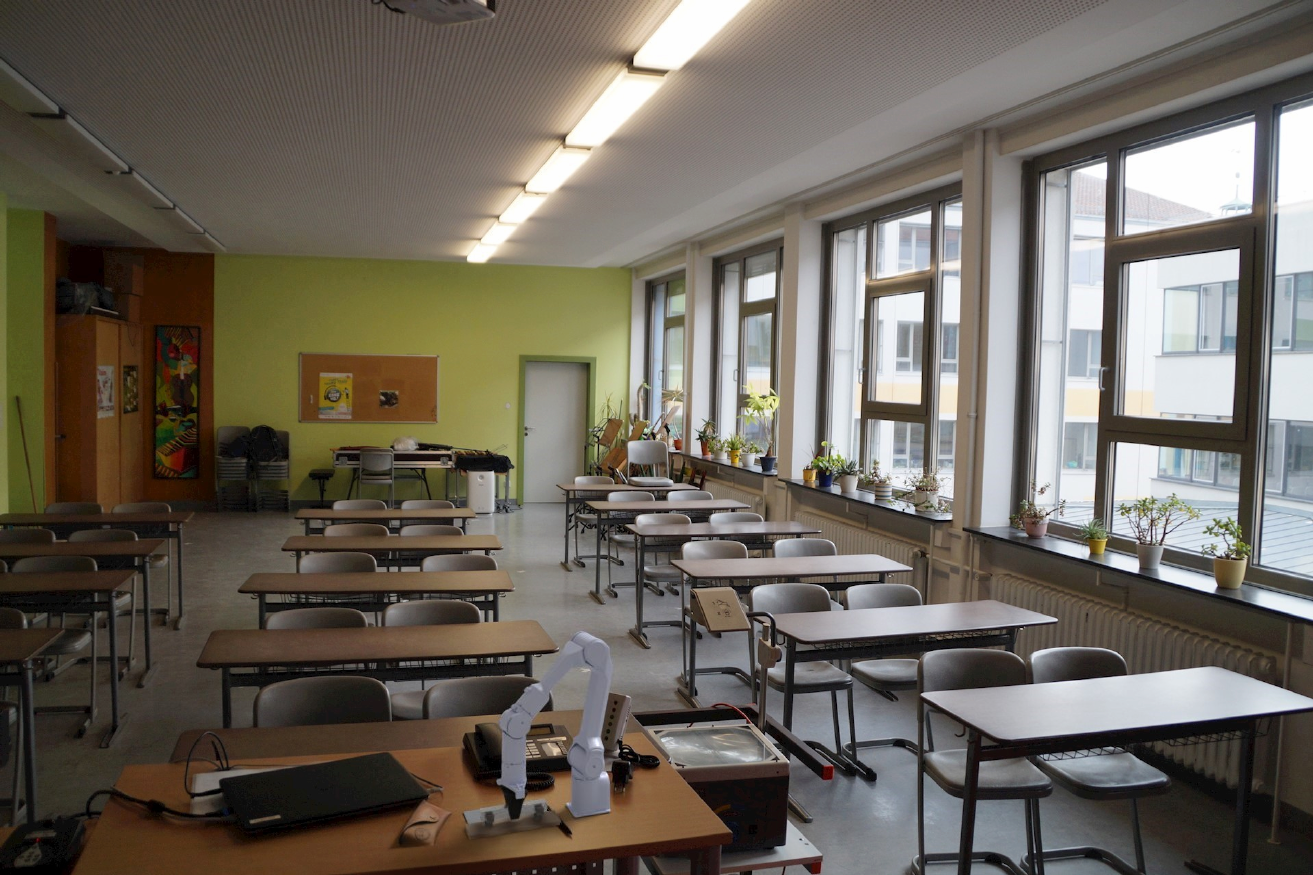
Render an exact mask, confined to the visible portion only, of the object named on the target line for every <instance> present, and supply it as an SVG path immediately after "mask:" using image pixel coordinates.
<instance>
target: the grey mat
mask: <svg viewBox="0 0 1313 875" xmlns="http://www.w3.org/2000/svg"><path fill="white" fill-rule="evenodd" d="M544 812H547V811H544ZM463 814H464V818H465V820H466V824H470V823H477V822H483V821H481V820H480V818H479V809H478V808H477V809H473V810H466V811H463ZM532 814H534V813H532ZM525 815H528V814H525ZM520 816H521V815H520ZM506 818H509V817H506ZM500 819H502V818H500ZM494 820H496V819H494Z"/></svg>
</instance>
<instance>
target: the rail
mask: <svg viewBox="0 0 1313 875" xmlns="http://www.w3.org/2000/svg"><path fill="white" fill-rule="evenodd" d="M537 799H538V800H536V799H532V800H526V801H525V800H524V802H523V805H522V809H521V814H520V815H525V814H532V813H536V807H541V806H543V807H544V811H547V809H548V801H547V799H546V798H537ZM484 807H485V808H483V807H480V808H479V818H480V820H481V821H487V815H489V814H494V819H500V818H506V817H510V816H509V809H508V804H506V803H505V804H499V805H492V806H484Z"/></svg>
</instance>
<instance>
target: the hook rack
mask: <svg viewBox="0 0 1313 875" xmlns="http://www.w3.org/2000/svg"><path fill="white" fill-rule="evenodd" d="M538 799H539V798H536V799H535V800H538ZM485 807H486V806H484V807H482V808H485ZM560 823H561V824H562V820H561V818H560V816H559V814H557V812H556V810H555V809H554V810H549V811H547V812H544V807H543V806H541V807H536V813H534V814H528V815H521V816H520V817H519V819H514V820H511V819H510V817H509V818H502V819H496V820H494V814H489V815H487V821H483V822H477V823H470V824H468V823H465V824H464V825H465V826H464V829H465V831H466V834H467V836H468V838H469V840H475V839H481V838H488V837H494V836H499V835H500V836H501V835H506V834H511V833H512V834H514V833H519V832H526V831H529V830H530V831H531V830H538V829H543V828H548V827H549V828H550V827H555V826H561V825H560Z"/></svg>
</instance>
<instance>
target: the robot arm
mask: <svg viewBox="0 0 1313 875" xmlns="http://www.w3.org/2000/svg"><path fill="white" fill-rule="evenodd" d="M610 652H611V648H610V647H609V646H608V644H607V643H606V642H605V641H604V640H602V638H601V639H600V638H597V637H596V636H594V635H591V634H590V633H588V632H587V631H581V630H580V631H577V632H576V633H575V634H573V635H572V637H571V638H570V639H569V640H568V641H567V642H566V643H565V645H564V647H563V649H562V651H561V653H560V655H559V656H558V657H557V659H556V660H555V661H554V662H553V664H552V665H551V667H550V668H549V669H548V670H547V672H545V674H544V676H542V677H541V680H540V681H539V682H537V683H531V685H529V686H526V687H525V688H524V689H523V691H524V693H522V695H521V696H520V698H518V699H517V701H516V702H515V703H513V704H512V705H510V708H508V709H506V710H505V711H503V713H502V714H501V716H500V719H499V720H498V721H497V724H498V727H499V729H501V738H502V739H501V740H502V741H501V777H500V778H497V779H496V784H497V785H498V786H499V787H500V789H501V791H502V794H503V798H504V802H505V804H508V809H509V816H510V819H511V820H514V819H519V817H520V814H521V809H522V805H523V802H525V799H526V798H527V796H528V794H529V791H528V789H527V788H525V787H526V784H527V773H526V772H527V770H526V767H527V734H528V733H530V730H531V725H532V724H531V723H532V722H533V721H534V718H536V717H537V715H538V714H539V713H540V711H541V710H542V709H543V708H544V707H545V706H546V705H547V703H548V702H549V701H550V693H551V692H552V690H553V689H554V688H555V687H556V686H557V685H558V684H559V683H560V682H561V681H562V680H563V678H564V677H566V676H567V675H568V674H569V672H570V671H571V670H572V669H575V668H584V667H587V668H588V669H589V670H590V676H589V681H588V686H587V692H586V696H585V697H586V698H585V702H584V708H583V712H582V718H581V723H580V727H579V728H580V729H579V733H578V734H577V735H575V736H574V738H573V741H572V745H571V746H570V748H569V749H568V751H567V755H566V758H567V759H566V760H567V762H568V764H569V765H570V766H571V774H570V776H571V782H570V783H571V784H570V787H571V788H570V795H571V796H570V802H566V803H565V806H566V807H567V809H568V811H570V814H571V815H572V816H573V818H580V817H588V816H594V815H601V814H605V813H611V811H612V810H611V808H610V806H611V783H610V776H609V775H608V774H609V773H607V771H606V770H604V769H605V766H606V763H605V758H604V754H605V753H604V752H605V747H604V745H603V742H602V733H603V732H602V731H603V725H604V720H605V717H606V716H605V715H606V711H607V705H608V700H609V695H610V690H611V683H612V678H613V674H614V673H613V672H614V665H613V662H612V657H611V654H610Z"/></svg>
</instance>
